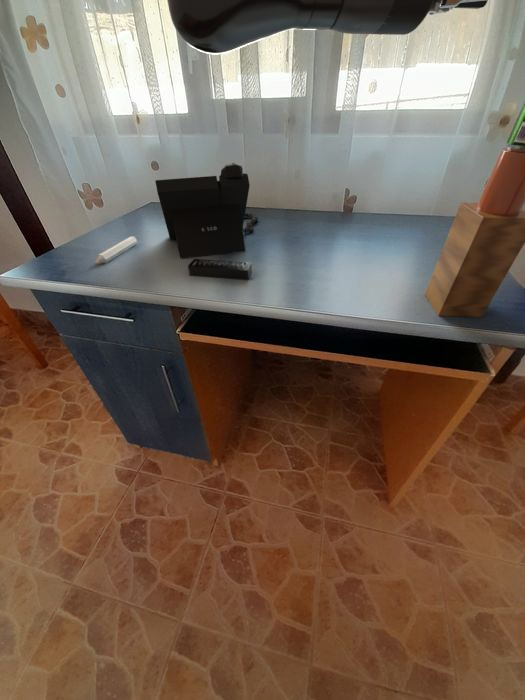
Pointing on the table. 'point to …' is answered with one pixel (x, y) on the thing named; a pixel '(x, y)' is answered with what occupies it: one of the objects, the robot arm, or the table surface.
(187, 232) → the office phone
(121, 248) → the white pencil
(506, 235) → the stand
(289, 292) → the table surface
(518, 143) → the beer can
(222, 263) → the multiport hub
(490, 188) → the cup
